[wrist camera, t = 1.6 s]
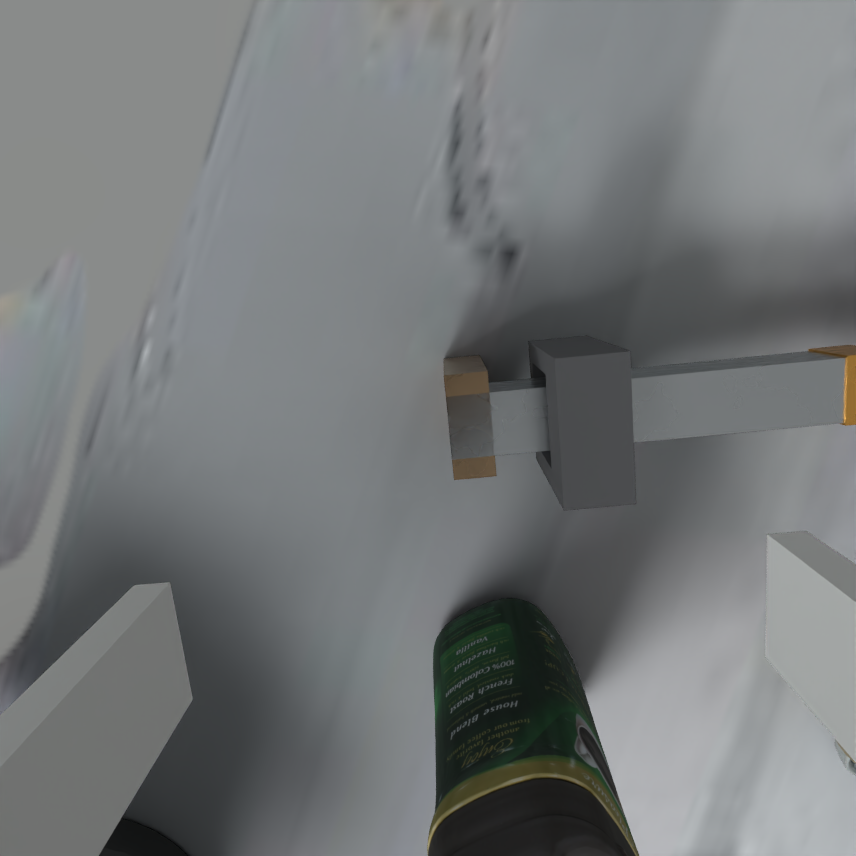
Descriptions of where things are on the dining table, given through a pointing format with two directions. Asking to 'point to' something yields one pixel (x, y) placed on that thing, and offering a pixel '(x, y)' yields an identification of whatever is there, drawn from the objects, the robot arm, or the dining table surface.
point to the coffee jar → (517, 744)
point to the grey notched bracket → (587, 421)
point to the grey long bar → (654, 402)
